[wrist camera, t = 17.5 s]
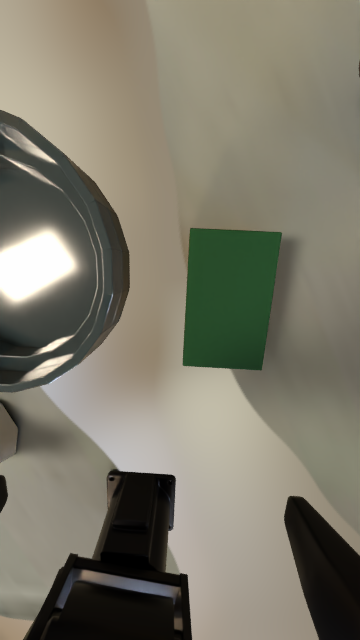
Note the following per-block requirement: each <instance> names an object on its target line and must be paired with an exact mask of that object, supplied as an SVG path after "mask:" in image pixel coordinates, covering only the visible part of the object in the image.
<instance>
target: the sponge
mask: <svg viewBox="0 0 360 640" xmlns="http://www.w3.org/2000/svg"><path fill="white" fill-rule="evenodd" d="M281 236H282V233H281V232H263V231H241V230H219V229H197V228H191V229H190V239H189V257H188V275H187V294H186V295H187V296H186V313H185V330H184V348H183V349H184V350H183V366H195V367H212V368H229V369H246V370H262V366H263V359H264V352H265V345H266V338H267V332H268V325H269V318H270V311H271V304H272V297H273V290H274V284H275V277H276V270H277V263H278V256H279V249H280V243H281Z"/></svg>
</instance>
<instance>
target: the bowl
mask: <svg viewBox="0 0 360 640" xmlns="http://www.w3.org/2000/svg"><path fill="white" fill-rule="evenodd" d="M129 279H130V278H129V250H128V247H127V244H126V241H125V238H124V235H123V231H122V228H121V225H120V222H119V219H118V217H117V214H116V213H115V212H114V210H113V209H112V207H111V205H110V204H109V202H108V201H107V199H106V198H105V196H104V195H103V193H102V192H101V190H100V189H99V187H98V186H97V185H96V183H95V182H94V181H93V180H92V179H91V178H90V177H89V176H88V175H87V174H86V173H84V172H83V171H82V170H81V169H80V168H79V167H78V166H77V165H76V164H75V163H74V162H73V161H71V160H70V159H69V158H68V157H67V156H66V155H65V154H64V153H63V152H61V151H60V150H59V149H58V148H57V147H55V146H54V145H53V144H52V143H51V142H49V141H48V140H47V139H46V138H45V137H43V136H42V135H41V134H40V133H39V132H37V131H36V130H35V129H33V128H32V127H31V126H30V125H29V124H28V123H27V122H25V121H24V120H23V119H21V118H19V117H16V116H14V115H12V114H9V113H7V112H5V111H2V110H0V392H18V391H22V390H26V389H30V388H34V387H38V386H42V385H46V384H49V383H51V382H53V381H54V380H56V379H57V378H59V377H60V376H62V375H63V374H65V373H66V372H68V371H69V370H71V369H72V368H74V367H75V366H77V365H78V364H80V363H81V362H82V361H83V360H84V359H85V358H86V357H87V356H89V355H90V354H91V353H92V352H93V351H94V350H95V349H96V348H98V347H99V346H100V345H101V344H102V343H103V341H104V340H105V339H106V337H107V336H108V335H109V333H110V332H111V331H112V329H113V328H114V327H115V325H116V324H117V323H118V321H119V319H120V317H121V314H122V311H123V308H124V305H125V301H126V298H127V295H128V292H129V288H130V286H129V285H130V280H129Z"/></svg>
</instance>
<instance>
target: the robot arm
mask: <svg viewBox="0 0 360 640" xmlns="http://www.w3.org/2000/svg"><path fill="white" fill-rule="evenodd" d="M175 482H176V478H175V476H173V475H168V474H153V473H136V472H122V471H110V472H109V473H108V476H107V498H108V511H107V515H106V518H105V521H104V524H103V527H102V530H101V533H100V536H99V539H98V542H97V545H96V548H95V551H94V554H93V557H92V559H90V558H84V557H79V556H78V554H73V553H70V555H69V557H68V559H67V561H66V563H65V565H64V567H62V568H61V569H59V571H58V574H57V576H56V578H55V581H54V583H53V585H52V588H51V590H50V592H49V594H48V596H47V598H46V600H45V602H44V604H43V606H42V608H41V610H40V612H39V614H38V615H37V617H36V619H35V620H34V622H33V624H32V626H31V627H30V629H29V631H28V632H27V634H26V635H25V637H24V639H23V640H192V633H191V619H190V604H189V589H188V575H187V574H182V573H180V575H177V574H171V573H166V572H165V571H166V557H167V543H168V531H171V530H172V529H173V522H174V503H175ZM7 497H8V493H7V486H6V479H5V477H4V476H3V475H0V513H1V511H2V509H3V507H4V506H5V504H6V501H7ZM284 521H285V526H286V530H287V534H288V537H289V541H290V545H291V548H292V552H293V556H294V560H295V564H296V567H297V571H298V575H299V578H300V582H301V586H302V589H303V593H304V596H305V599H306V602H307V605H308V608H309V611H310V614H311V617H312V620H313V623H314V626H315V629H316V631H317V634H318V637H319V640H360V556H359V555H358V554H357V553H356V552H355V551H354V549H353V548H352V547H350V545H349V544H348V543H347V542H346V541H345V540H344V539H343V538H342V537H341V536H340V535H339V534H338V533H337V532H336V531H335V530H334V529H333V528H332V527H331V526H330V525H329V523H328V522H327V521H326V520H325V519H324V518H323V517H322V516H321V515H320V514H319V513H318V512H317V511H316V510H315V509H314V508H313V507H312V506H311V505H310V504H309V503H308V502H307V501H306V500H305V499H304V498H303V497H299V496H290V497H288V500H287V505H286V510H285V515H284Z"/></svg>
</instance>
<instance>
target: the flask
mask: <svg viewBox="0 0 360 640" xmlns="http://www.w3.org/2000/svg"><path fill="white" fill-rule="evenodd" d="M17 435H18V428H17V427H16V425H15V423H14V422H13V420H12V419H11V417H10V416H9V414H8V413H7V411H6V410H5V408H4V407H3V405H2V404H1V403H0V463H1V462H2V461H4V460H6V459H8V458H9V457H11V456H13V455H14V454H16V444H17Z"/></svg>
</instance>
